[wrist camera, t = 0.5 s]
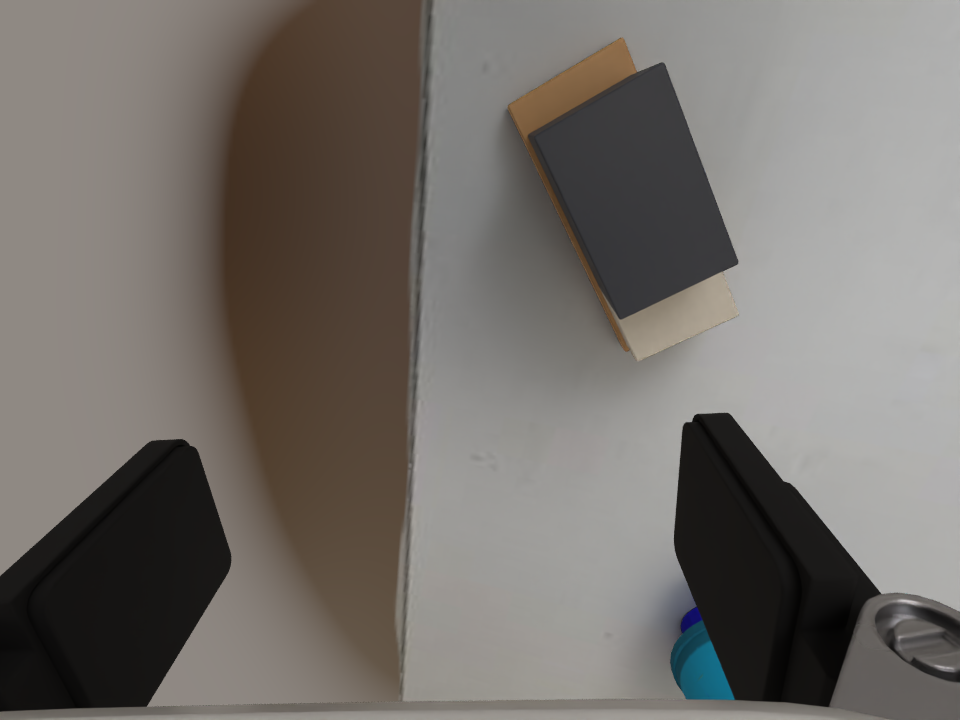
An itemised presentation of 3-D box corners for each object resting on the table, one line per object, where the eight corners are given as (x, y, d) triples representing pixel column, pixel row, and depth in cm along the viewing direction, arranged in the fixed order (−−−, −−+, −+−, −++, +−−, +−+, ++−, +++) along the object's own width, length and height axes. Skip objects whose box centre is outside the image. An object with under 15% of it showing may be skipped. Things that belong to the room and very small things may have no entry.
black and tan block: (506, 106, 22) (508, 100, 17) (616, 40, 21) (654, 12, 16) (620, 343, 26) (649, 396, 21) (718, 297, 25) (775, 341, 20)
